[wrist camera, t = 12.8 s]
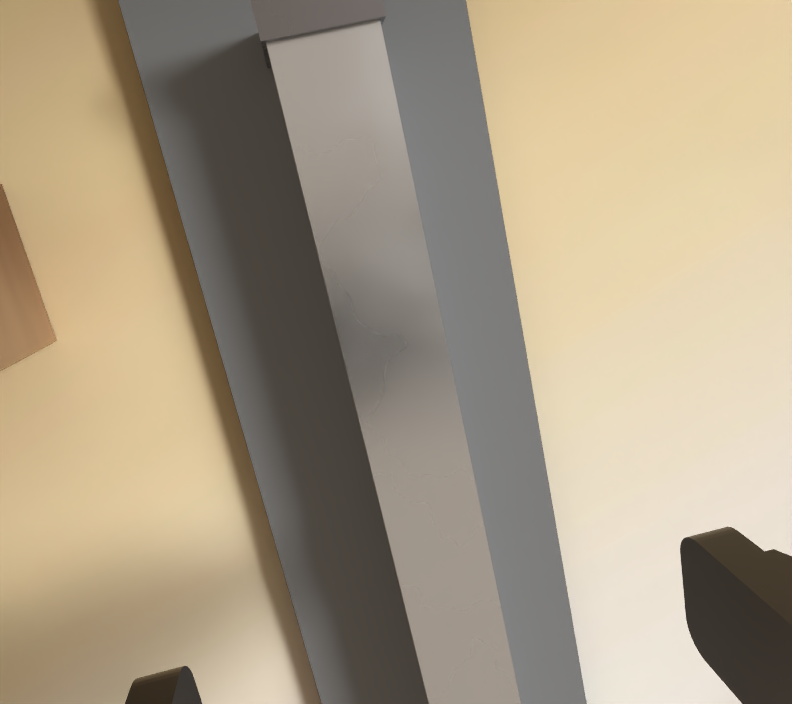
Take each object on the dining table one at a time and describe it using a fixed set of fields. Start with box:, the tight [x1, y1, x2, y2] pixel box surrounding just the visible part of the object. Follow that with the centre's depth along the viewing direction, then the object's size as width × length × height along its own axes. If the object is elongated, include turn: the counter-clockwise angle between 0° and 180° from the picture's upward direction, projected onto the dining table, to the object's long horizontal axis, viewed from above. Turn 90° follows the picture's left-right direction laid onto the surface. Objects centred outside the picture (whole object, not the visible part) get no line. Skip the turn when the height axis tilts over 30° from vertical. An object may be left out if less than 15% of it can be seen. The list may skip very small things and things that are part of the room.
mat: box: [118, 0, 586, 704], centre depth 19 cm, size 28×8×1 cm, turn 12°
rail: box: [250, 0, 521, 704], centre depth 17 cm, size 24×3×3 cm, turn 13°
